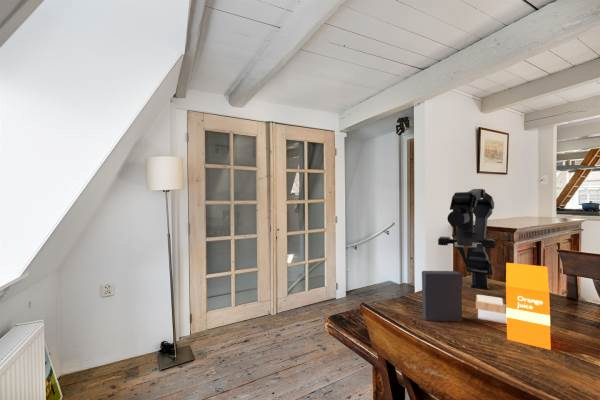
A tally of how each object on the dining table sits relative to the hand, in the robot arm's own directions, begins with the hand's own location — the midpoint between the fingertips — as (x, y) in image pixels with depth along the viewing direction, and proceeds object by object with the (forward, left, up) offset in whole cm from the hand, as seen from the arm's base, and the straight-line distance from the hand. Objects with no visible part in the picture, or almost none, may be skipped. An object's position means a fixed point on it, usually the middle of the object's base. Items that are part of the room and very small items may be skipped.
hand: (466, 264), depth 107 cm
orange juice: (+29, +15, -13) cm, 35 cm away
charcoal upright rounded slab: (+27, -6, -13) cm, 31 cm away
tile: (+9, +3, -11) cm, 15 cm away
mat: (+12, +12, -13) cm, 21 cm away
